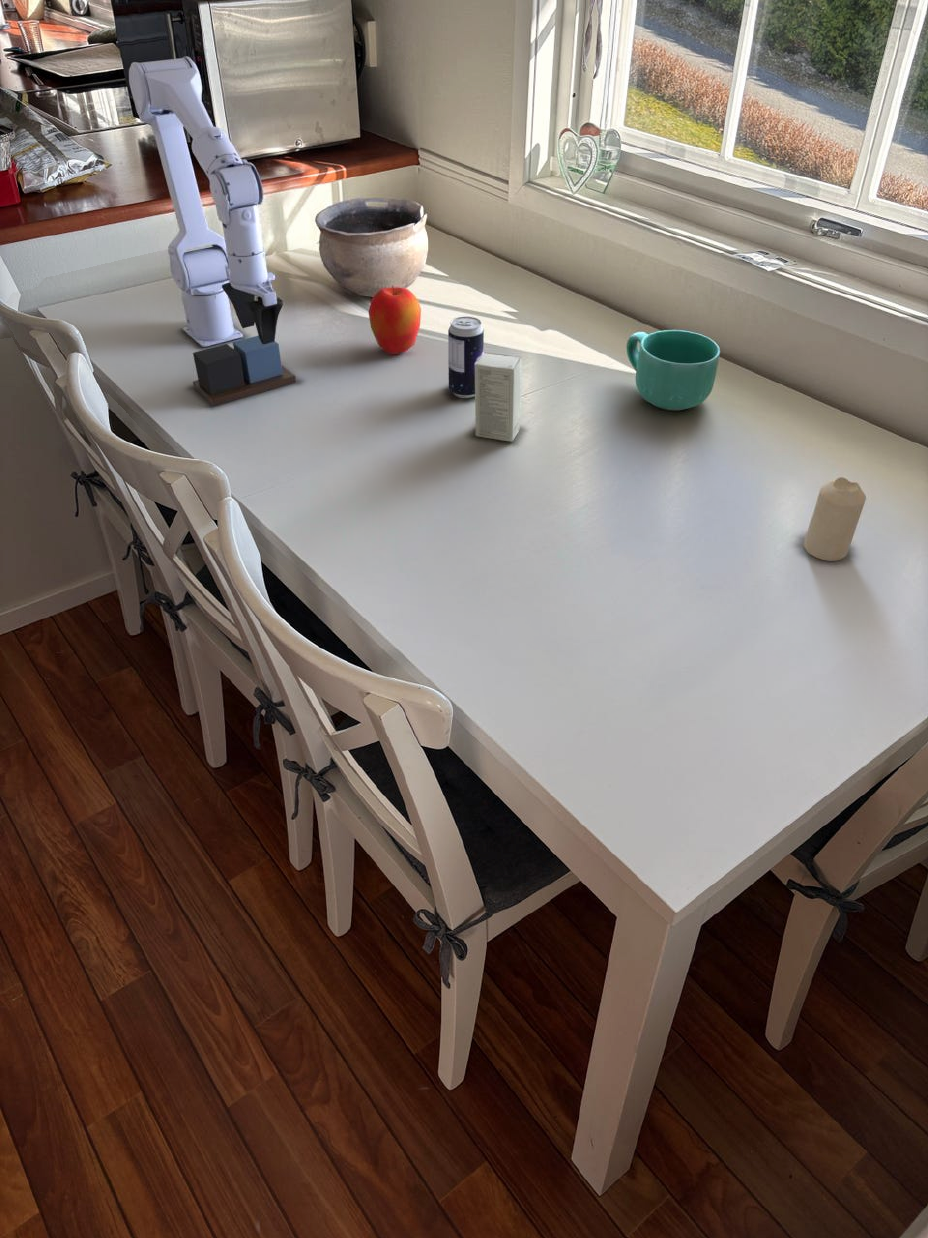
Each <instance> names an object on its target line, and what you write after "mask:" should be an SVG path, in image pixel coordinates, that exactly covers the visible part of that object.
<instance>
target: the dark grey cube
mask: <svg viewBox="0 0 928 1238" xmlns="http://www.w3.org/2000/svg"><path fill="white" fill-rule="evenodd" d="M192 355H193V361H194V367H195V370H196V371H195V372H196V376H197V380H198V381H199V384H200V385H201V386H202V387H203V388H204V389H205V390H206V391H207V392H208V393H210V394H211V395H214V394H217V393H221V392H224V391H228V390H231V389H235V388H238V387H242V386H245V383H244V377H243V371H242V365H241V359H240V354H238V353H237V352H236V351H235V350H234V348H232V347H231V346H230V345H229V344H227V343H225V344H222V345H218V346H214V347H210V348H205V349H201V350H199V351H194V352H192Z"/></svg>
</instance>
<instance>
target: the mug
mask: <svg viewBox="0 0 928 1238" xmlns="http://www.w3.org/2000/svg"><path fill="white" fill-rule="evenodd" d="M626 341H627V342H626V347H625V348H626V355H627V357H628V360H629V363H630V364H631V366H632V368H633V369H634V370H635V384H636V390H637V391H638V393H639V395H640V396H641V397H642V398H643V399H644V400H645V401H646V402H648V403H650V404H651V405H653V406H654V407H656V408H658V409H662V410H667V411H672V412H673V411H676V412H677V411H684V410H687V409H690V408H694V407H696V406H698V405H700V404H702V403H703V402H704V401H706V400H707V399H708V397H709V396H710V395H711V392H712V390H713V388H714V383H715V380H716V376H717V370H718V366H719V360H720V356H721V355H720V354H721V349H720V346H719V345H718V343H716V342H715V341H714V340H713V339H711V338H710V337H708V336H706V335H705V334H700V333H697V332H694V331H691V330H689V331H688V330H681V329H678V330H677V329H665V330H658V331H654V332H651V333H649V334H648V333H646V332H644V331H637V332H634V333H633V334H631V335H630V336H629V338H628V339H627V340H626Z"/></svg>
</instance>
